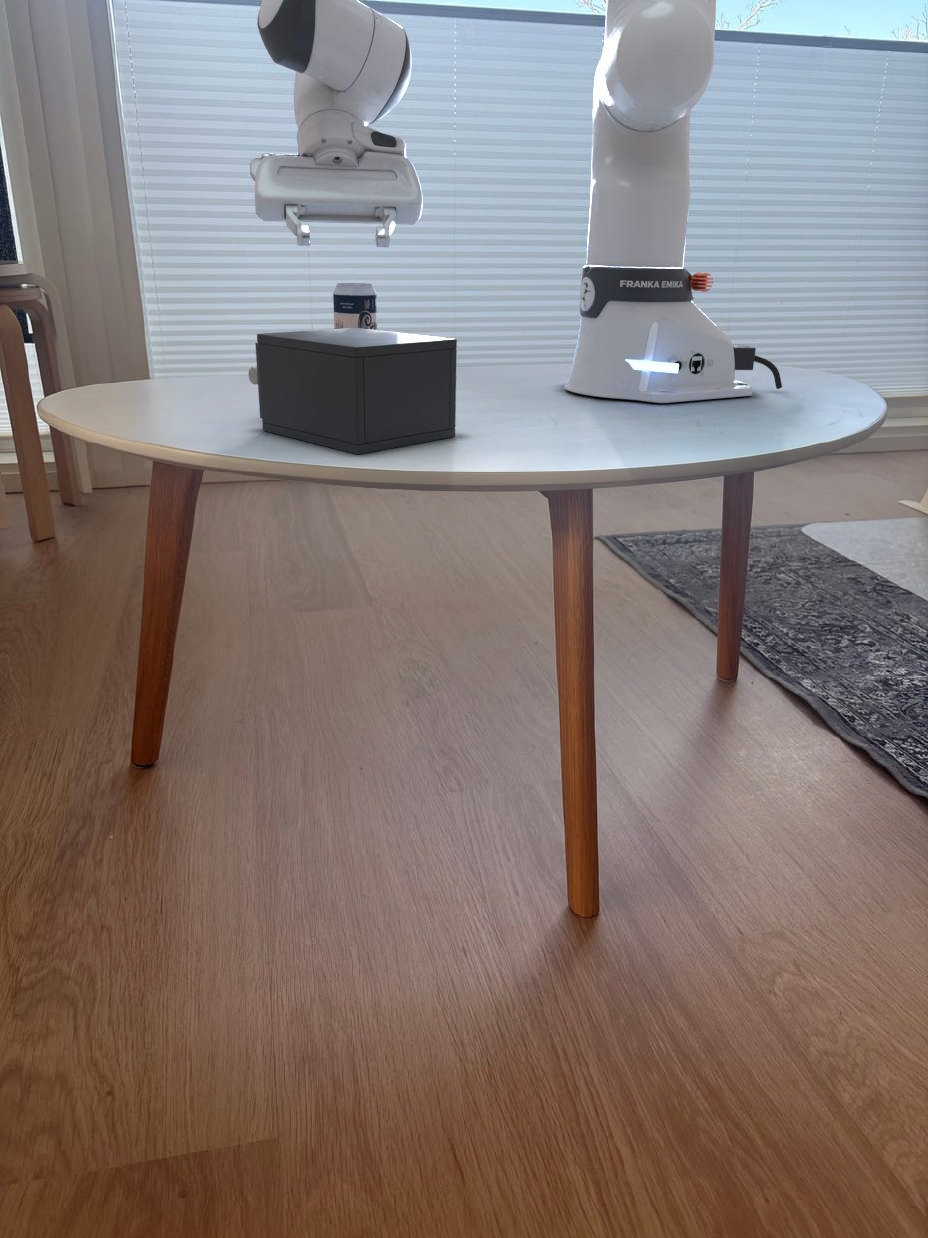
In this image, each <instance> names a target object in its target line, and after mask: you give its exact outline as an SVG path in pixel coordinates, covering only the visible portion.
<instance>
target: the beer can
mask: <svg viewBox="0 0 928 1238" xmlns="http://www.w3.org/2000/svg"><path fill="white" fill-rule="evenodd" d="M376 291H377V290H376V289H375V287H374V284H373V283H366V282H365V283H363V282H339V283H336V285H335V287H334V290H333V292H332V298H333V329H342V328H365V329H374V330H378V309H377V308H378V307H377V305H378V304H377V302H378V300H377V297H378V296H377V294H378V292H376Z"/></svg>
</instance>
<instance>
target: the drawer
mask: <svg viewBox="0 0 928 1238" xmlns="http://www.w3.org/2000/svg"><path fill="white" fill-rule="evenodd" d="M257 344H258V343H257V342H255V359H256V361H255V362H256V366H251V367H250V368H249V369H248V372H247V373H248V379H249V381H250V383H251V384H252V385H257V391H258V405H259V406H258V408H259V419H260V420H262V410H261V394H260V378H259V361H258V345H257Z"/></svg>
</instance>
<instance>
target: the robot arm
mask: <svg viewBox="0 0 928 1238" xmlns="http://www.w3.org/2000/svg"><path fill="white" fill-rule="evenodd" d="M605 6H606V8H605V27H604V29H605V30H604V42H603V43H604V45H603V49H602V55H601V57H600V60H599V62H598V64H597V67H596V71H595V76H594V83H593V84H594V85H593V103H592V107H593V108H592V132H591V134H592V135H591V139H592V140H591V163H590V164H591V166H590V167H591V169H590V170H591V171H590V173H591V174H590V202H589V218H588V230H587V231H588V232H587V248H586V261H585V262H586V263H585V264H586V265H584V266H582V269H581V281H580V289H579V315H580V323H579V329H578V336H577V341H576V345H575V350H574V355H573V359H572V363H571V368H570V370H569V373H568V377H567V380H566V382H565V385H564V389H565V390H567V391H569V392H572V393H575V394H579V395H584V396H591V397H598V398H605V399H607V398H608V399H618V400H631V401H640V402H648V403H655V404H656V403H657V404H669V403H681V402H692V401H693V402H694V401H705V400H716V399H728V398H737V397H739V398H741V397H751V396H753V386H751V385H750V384H748V383H746V382H743V381H740V380H738V379H737V380H736V379H735V378H736V371H754V365H755V363H757V364H761V365H763V366H765V367H766V368H768V369H769V370H770V371H771V373H772V376H773V379H774V385H775V389H777V390H779V389H782V388H783V383H782V379H781V375H780V371H779V368H778V367H777V366H776V365H775V364H774V363H773V362H772V361H770V360H768V359H766V358H764V357H761V356H758V355H756V348H757V347H753V346H750V345H745V344H743V343H741V344H740V343H739V344H737V343H736V344H735V343H734V344H733V342H732V340H731V338H730V337H729V336H728V335H727V334H726V333H725V332H724V331H722V329H720V327H718V325H716V324H715V323H714V322H713V320H711V319H710V318H709V317H708V316H707V315H706V314H705V312H703V311H702V310H701V309H700V308H699V306H697V305H696V304H695V303H694V302H693V301H694V295H693V291H695V292H699V291H700V292H704V293H706V292H708V291H710V290H711V289H710V288H712V287H713V285H712V284H714V281H713V280H714V278H713V277H712V274H711V273H708V272H703V273H702V272H696V273H694V274H691V273H690V272H689V271H688V270H687V269H686V267H684V263H685V261H684V259H685V249H686V241H687V231H688V220H689V212H690V211H689V210H690V202H691V201H690V200H691V183H690V131H691V130H690V125H691V114H692V109H693V108H695V106H696V105H697V104H698V102H700V100H701V98H702V97H703V95H704V94H705V92H706V90H707V89H708V86H709V83H710V80H711V76H712V72H713V68H714V61H715V60H714V59H715V58H714V57H715V36H716V35H715V33H716V13H717V12H716V11H717V0H606V5H605ZM256 22H257V25H256V26H257V29H258V32H259V35H260V38H261V41H262V43H263V45H264V48H265V50H266V51H267V53H268V55H269V56H270V58H271V60H272V61H273V62H274V63H275V64H277V65H279V66H282V67H284V68H286V69H289V70H291V71H294V72H295V75H294V84H293V110H294V112H293V113H294V120H295V123H296V126H297V132H296V143H297V144H296V145H297V154H296V153H294V154H293V153H282V154H280V153H279V154H273V153H271V152H269V153H268V152H267V153H265V152H264V153H262V154H261V156H257V157H255V158H252V159H251V160H250V163H249V175H250V177H251V179H252V181H254V207H255V214H256V216H257V217H258V218H259V219H260V220H261V221H263V222H277V223H279V222H281V223H283V222H285V223H286V227H287V228H288V229H289V231H290V232H291V233H292V234H293V235H294V236H295V237H296V245H297V247H298V246H299V247H310V246H311V232H310V225H309V224H302V223H321V224H322V223H323V224H325V223H327V224H329V223H330V224H361V225H362V224H365V225H367V224H368V225H371V224H372V225H382V226H376V228H375V236H374V237H375V245H376V246H375V247H376V248H390V240H391V237H390V236H391V234H392V233H393V232H394V230H395V226H396V225H403V226H404V225H405V226H408V225H409V226H413V225H415V224H417V223H418V221H420V219H421V216H422V213H423V204H424V199H423V196H424V195H423V191H422V187H421V183H420V179H419V176H418V173H417V170H416V168H415V166H414V164H413V162H412V161H411V160H410V159H409V158H408V157H407V150H406V149H407V146H406V140H404V139H403V138H402V137H400V136H396V135H393V134H390V133H386V132H383V131H380V130H377V129H374V128H372V127H370V126H368V124H369V125H372V124H375V123H376V122H378V121H379V120H380V119H383V117H385V116H386V115H388V114H389V113H390V112H391V111H392V110H393V109H394V108H395V107H396V106H397V105H398V103H399V102H400V101H401V100H402V98H403V97H404V94H405V92H406V91H407V90H408V89H407V88H408V87H409V86H408V85H409V83H410V79H411V75H412V51H411V44H410V40H409V36H408V34H407V31H406V29H405V28H404V27H403V26H401V25H400V24H398V23H397V22H395V21H394V20H392V19H390V18H389V17H387V16H385V15H384V14H383V13H381V12H380V11H377V10H376V9H374V8H372V7H370V6H368V5H366V4H364V3H363V2H361V1H359V0H261V2H260V7H259V10H258V15H257V21H256ZM711 280H712V281H711Z"/></svg>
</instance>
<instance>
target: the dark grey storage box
mask: <svg viewBox="0 0 928 1238" xmlns="http://www.w3.org/2000/svg"><path fill="white" fill-rule="evenodd" d="M256 341H257V342H256V343H258V344H257V345H258V361H259V378H260V394H261V410H262V419H261V422H262V423H261V425H262V431H263V432H267V433H271V434H275V435H279V436H282V437H287V438H290V439H294V440H299V441H303V442H307V443H311V444H314V445H318V446H323V447H327V448H331V449H335V450H339V451H343V452H347V453H350V454H354V455H364V454H368V453H373V452H378V451H384V450H391V449H395V448H400V447H406V446H412V445H417V444H423V443H427V442H433V441H439V440H444V439H450V438H451V439H452V438H455V437H456V420H457V419H456V418H457V417H456V415H457V414H456V413H457V411H456V409H457V354H458V353H457V347H458V343H457V342H458V340H457V338H451V337H443V336H433V335H424V334H418V333H417V334H416V333H408V332H407V333H406V332H399V331H389V330H381V329H377V330H374V329H365V328H342V329H334V328H328V329H313V330H311V329H310V330H298V331H297V330H295V331H280V332H264V333H257V334H256Z"/></svg>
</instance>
